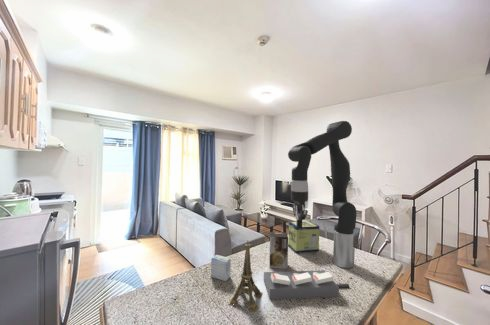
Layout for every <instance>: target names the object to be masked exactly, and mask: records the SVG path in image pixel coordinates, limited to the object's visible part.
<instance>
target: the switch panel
mask: <svg viewBox="0 0 490 325" xmlns="http://www.w3.org/2000/svg"><path fill="white" fill-rule="evenodd" d="M307 272H308V273H309V274H310V276H311V277H312V281H310V282H306V283H302V284H298V285H295V283H294V281H293V280H292V276H294V275H298V274H302V273H307ZM325 272H326V271H325V270H297V271H296V270H292V271H289V270H287V271H264V272H263V283H264V286H265V290H266V292H267V296H268V298H269V300H291V299H292V300H293V299H295V300H296V299H314V298H315V299H317V298H318V299H319V298H339V297H340V296H339V294H340V293H339V292H340V288H350V284H349V283H336V282H335V281H334V280H333V281H329V282H325V283H320V284H317V283H316V282H315V281H314V279H313V275H316V274H321V273H325ZM271 273H273V274H279V275H285V276H288V278H289V279H290V285H286V284H280V283H274V282H272V279H271Z"/></svg>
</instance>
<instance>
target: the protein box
mask: <svg viewBox="0 0 490 325" xmlns="http://www.w3.org/2000/svg"><path fill="white" fill-rule="evenodd" d="M288 248H290V249H291V250H292V251H293V252H294V253H295V254H306V253H317V252H319V251H320V250H319V249H320V225H318V224H316V223H315V222H312V221H311V220H306V221H304V220H302V228H297V221H289V222H288Z"/></svg>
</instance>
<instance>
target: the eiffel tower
mask: <svg viewBox="0 0 490 325" xmlns="http://www.w3.org/2000/svg"><path fill="white" fill-rule="evenodd" d="M251 248H252V246H251V244H250V243H249V241H247V243H245V245H244V249H245V252H244V262H243V268H242V273H241V275H240V277H241V280H240V283H239V284H238V286H237V287H236V289H235V291H234V292H235V293H234V296H233V297H232V298H231V299H230V300H229V302H228V304H229V303H230V305H229V306H231V305H233V304H234V306H233V307H236V306H237V303H239V302H238V298H239V297H240V296H241V294H246V295H248V301H249V306H248V311H251V312H255V313H256V312H257V310H258V308H259V305H258V304H257V303H256V300H255V298H254V297H257V298H262V296H263V292H261V290H260V289H259V288H258V286H257V285H256V284H255V283H256V281H254V279H253V274H254V273H253V272H254V271H253V270H252V266H251V251H250V249H251ZM253 295H254V296H253Z"/></svg>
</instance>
